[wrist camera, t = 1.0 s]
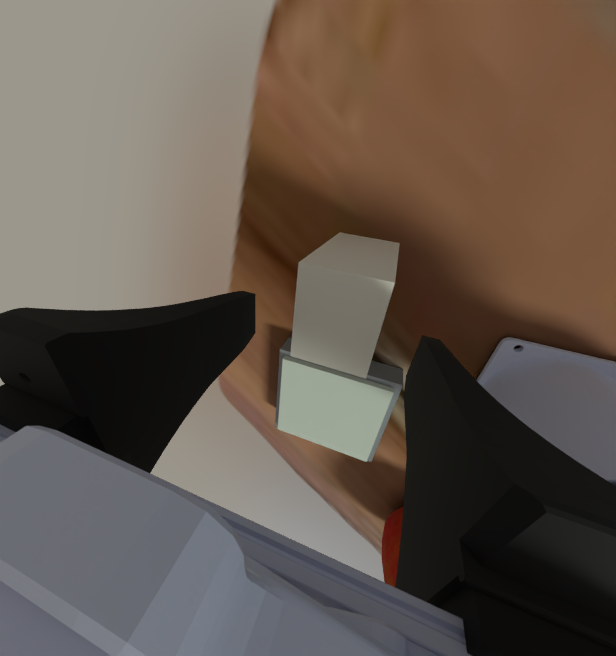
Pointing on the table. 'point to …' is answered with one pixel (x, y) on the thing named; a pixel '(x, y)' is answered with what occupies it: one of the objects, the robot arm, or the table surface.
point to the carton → (343, 302)
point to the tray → (335, 404)
